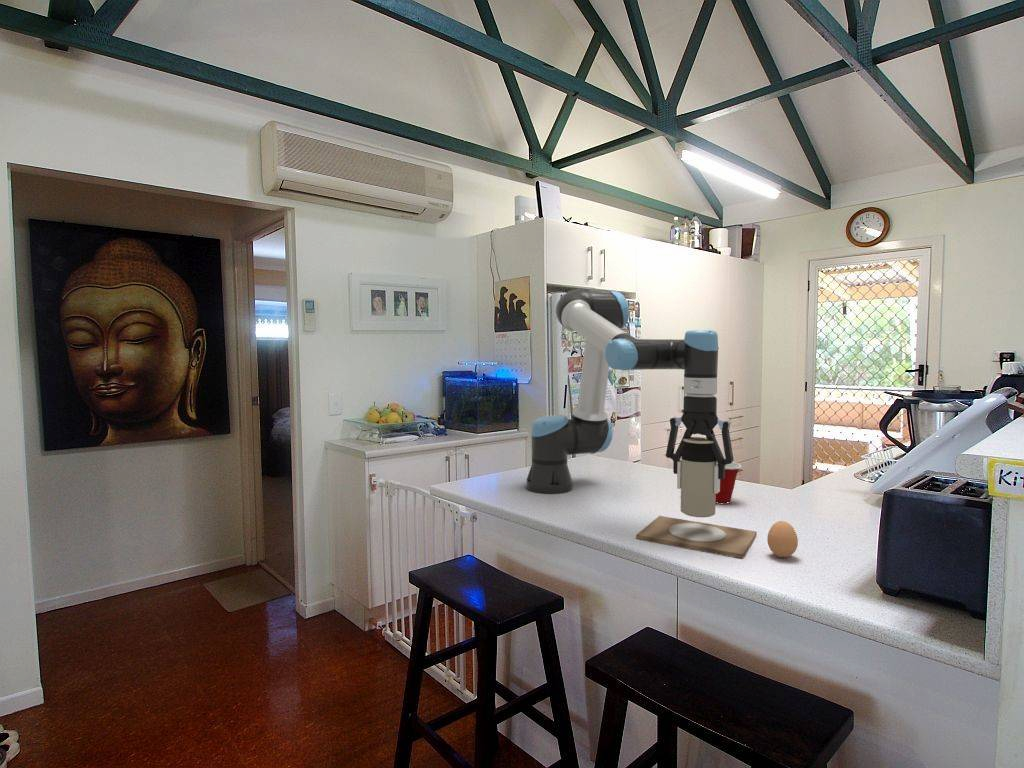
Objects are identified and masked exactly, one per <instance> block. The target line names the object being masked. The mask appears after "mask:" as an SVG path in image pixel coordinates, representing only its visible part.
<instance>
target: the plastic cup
mask: <svg viewBox="0 0 1024 768" xmlns="http://www.w3.org/2000/svg"><path fill="white" fill-rule="evenodd" d="M716 464H718V463H717V461H716ZM741 468H742V465H741V464H740V463H738V462H734V461H733V462H732V463H731V464H726V465H725V477H724V478H723V479H720V492H718V493H717V494H716V502H718V503H727V502H730V503H731V501H732V497H733V492H734V489H735V485H736V478H737V475H738V474H739V470H740V469H741Z"/></svg>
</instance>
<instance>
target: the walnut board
mask: <svg viewBox="0 0 1024 768" xmlns="http://www.w3.org/2000/svg"><path fill="white" fill-rule="evenodd" d="M756 535H757V531H755V530H751V529H750V530H749V529H743V528H736V527H731V526H726V525H724V526H723V525H718V524H712V523H705V522H700V521H696V520H695V521H694V520H688V519H681V518H677V517H676V518H675V517H670V516H662V515H658V516H657V517H656V518H655V519H653V520H652V521H651V522H650V523H649V524H648V525H646V526H645V527H644V528H642V529H641V530H640V531H639V532H638V533H636V535H635V539H637V540H642V541H646V540H647V542H650V543H656V542H657V543H658V544H662V543H663V544H664V545H667V546H672V545H673V547H678V548H682V549H688V548H690V550H693V549H694V551H699V550H700V552H704V551H707V552H706V553H709V552H711V553H710V554H715V553H717V554H716V555H720V554H723V555H722V556H725V555H728V556H727V557H730V556H733V557H732V558H736V557H738V558H737V559H741V558H742V559H744V558H745V556H746V555H747V553H748V551H749V549H750V548H751V546H752V544H753V542H754V541H755V540H756V537H757V536H756ZM663 544H662V545H663ZM749 547H750V548H749ZM746 552H747V553H746Z"/></svg>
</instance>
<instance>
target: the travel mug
mask: <svg viewBox="0 0 1024 768" xmlns="http://www.w3.org/2000/svg"><path fill="white" fill-rule="evenodd" d="M683 441H684V444H685V447H684V449H683V450H682V456H681V459H680V460H681V489H680V512H681V513H682V514H684V515H686V516H688V517H694V518H709V517H713V516H715V515H716V504H717V503H716V493H714V468H715V465H716V461H717V460H716V458H715V456H714V453H713V451H712V448H711V447H712V443H713V441H708V439H707V438H706V436H705V437H704V436H691V438H689V439H683Z"/></svg>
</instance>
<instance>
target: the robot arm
mask: <svg viewBox="0 0 1024 768" xmlns="http://www.w3.org/2000/svg"><path fill="white" fill-rule="evenodd" d="M629 306H630V305H629V303H628V301H627V298H626V296H625V295H623V294H622V292H620V291H616V290H609V289H581V288H578V289H573V290H569V291H568V292H566V293H564V294H563V295H562V296H560V298H559V300H558V301H557V303H556V307H555V316H556V319H557V321H558V322H559V323H560V325H561V326H562V327H564V328H565V329H566V330H568V331H570V332H576V333H577V334H578V335H580V336H581V337H583V338H584V339H585V342H584V351H583V360H582V368H581V377H580V384H579V391H578V392H579V393H578V400H577V407H576V408H575V409H574V410H573V411H572V414H571V418H568V416H567V415H564V414H556V415H553V414H551V415H546V416H541V417H537V418H535V420H533V422H532V425H531V432H530V435H531V465H530V468H529V472H528V474H527V478H526V483H525V485H526V487H525V488H526V490H528V491H531V492H535V493H539V494H540V493H541V494H561V493H562V494H563V493H566V492H570V491H572V490H573V484H574V483H573V479H572V475H571V472H570V469H569V466H568V456H570V455H572V456H573V455H584V454H592V455H594V454H597V453H602V452H605V451H606V450H607V449H608V448H609V447H610V445H611V443H612V440H613V425H612V422H611V421H610V420H609V418H608V415H607V413H606V412H605V404H606V395H607V389H608V388H607V387H608V381H609V373H610V368H611V369H612V370H616V371H617V370H618V371H619V370H620V371H623V372H624V371H637V370H639V371H641V370H642V371H643V370H683V371H684V373H683V393H684V394H685V395H684V396H683V407H682V408H683V411H682V412H683V413H682V415H681V417H676V416H675V417H674V416H673V417H672V418H669V424H670V425H669V426H670V431H669V436H668V441H667V448H666V452H665V457H666V458H667V459H671V460H672V462H673V465H672V466H673V470H672V471H673V474H675V475H676V477H677V479H676V489H680V490H681V458H682V450H683V449H684V447H685V444H684V441H683V439H689V438H691V437H693V436H692V435H701V436H705V437H706V438H707V439H708V441H713V443H712V447H711V448H712V451H713V453H714V456H715V458H716V460H717V463H718V464H716V465H715V468H714V493H716V494H717V493H718V492H720V479H723V478H724V477H725V465H726V464H731V463H732V462H734V453H733V448H732V443H731V433H730V428H731V421H730V420H723V419H719V418H718V414H717V413H718V412H717V411H718V409H717V408H718V407H717V406H718V405H717V404H718V402H717V401H718V400H717V399H718V398H717V396H715V395H717V394H718V363H719V361H718V360H719V349H720V348H719V339H718V338H719V335H718V332H716V330H713V329H711V330H709V329H708V330H707V329H706V330H705V329H704V330H699V329H698V330H696V329H695V330H687V331H685V332H684V338H683V339H679V338H678V339H671V338H669V339H668V338H667V339H649V338H648V339H646V338H636V337H634V336H632V335H630V334H629V333H627V332H625V331H624V330H623V328H625V327H626V326H627V324H628V322H629V320H630V308H629ZM681 423H682V424H683V425H684V427H685V428H686V429H685V431H684V433H683V436H682V438H681V441H680V442H679V445H678V446H677V449H676V451H675V448H676V442H677V438H678V433H679V426H681ZM717 425H718V427H719V429H720V430H721V438H722V444H723V450H724V455H723V452H722V449H721V448H720V445H719V443H718V441H717V438H716V434H715V431H714V428H716V427H717Z"/></svg>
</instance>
